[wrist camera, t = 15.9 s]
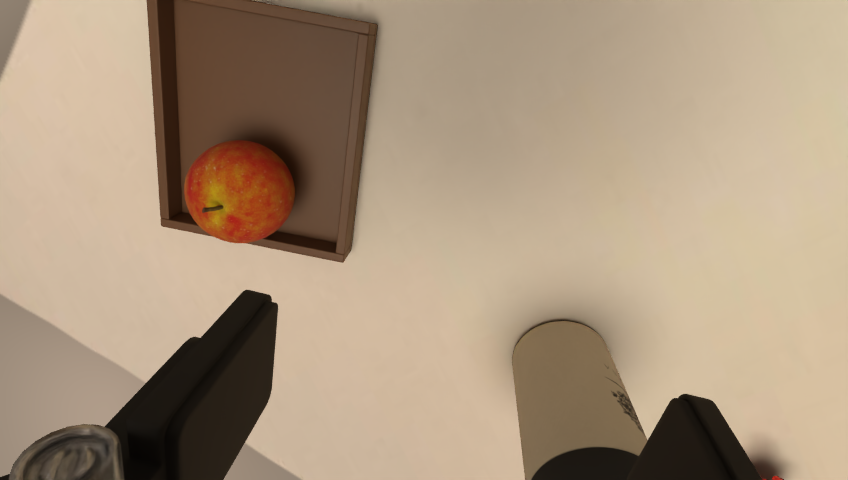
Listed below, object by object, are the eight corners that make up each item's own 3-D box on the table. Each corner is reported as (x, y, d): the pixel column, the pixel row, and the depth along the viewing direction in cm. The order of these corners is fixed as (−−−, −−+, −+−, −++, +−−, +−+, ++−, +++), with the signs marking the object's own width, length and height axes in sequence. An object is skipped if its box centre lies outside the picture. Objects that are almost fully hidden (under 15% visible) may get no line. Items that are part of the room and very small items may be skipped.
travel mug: (523, 402, 42) (553, 637, 25) (502, 329, 39) (520, 539, 22) (615, 387, 40) (712, 628, 24) (599, 309, 37) (697, 520, 21)
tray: (168, -15, 31) (145, -20, 29) (377, 24, 31) (370, 22, 29) (178, 215, 38) (160, 226, 36) (351, 250, 38) (343, 263, 35)
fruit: (325, 170, 35) (284, 204, 27) (280, 237, 37) (232, 285, 30) (244, 112, 33) (179, 131, 26) (204, 185, 36) (135, 222, 29)
